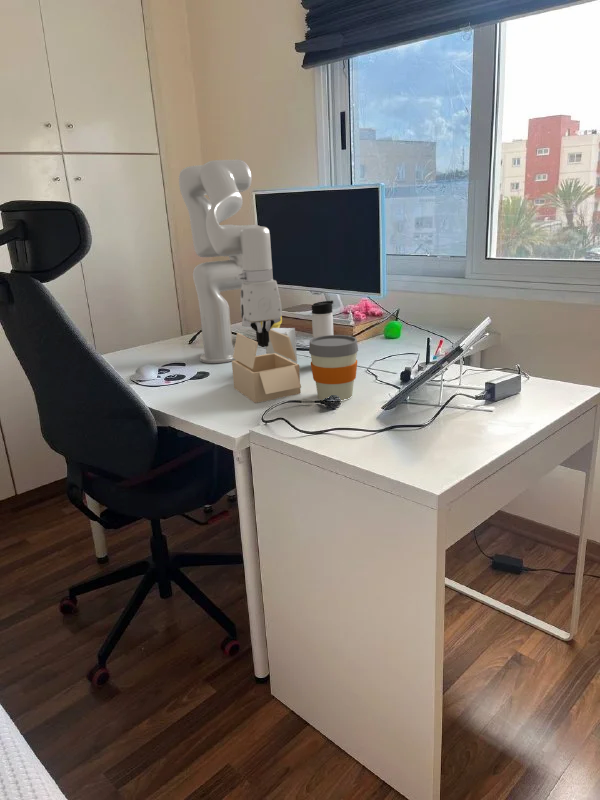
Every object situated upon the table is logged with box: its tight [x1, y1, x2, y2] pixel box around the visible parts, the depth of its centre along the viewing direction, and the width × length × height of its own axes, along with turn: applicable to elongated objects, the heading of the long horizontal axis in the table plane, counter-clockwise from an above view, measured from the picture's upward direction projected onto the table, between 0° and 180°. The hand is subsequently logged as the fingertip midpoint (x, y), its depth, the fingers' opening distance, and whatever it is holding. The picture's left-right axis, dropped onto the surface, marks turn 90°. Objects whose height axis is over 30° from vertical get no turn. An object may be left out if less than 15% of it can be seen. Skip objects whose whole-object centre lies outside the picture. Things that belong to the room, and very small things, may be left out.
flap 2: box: [269, 329, 298, 362], centre depth 164 cm, size 14×7×1 cm
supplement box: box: [265, 327, 298, 364], centre depth 181 cm, size 7×7×13 cm
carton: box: [231, 353, 302, 404], centre depth 164 cm, size 23×13×8 cm, turn 27°
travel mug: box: [311, 300, 334, 339], centre depth 183 cm, size 6×7×20 cm
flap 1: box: [233, 332, 259, 369], centre depth 159 cm, size 14×7×1 cm
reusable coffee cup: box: [308, 334, 359, 401], centre depth 156 cm, size 13×13×15 cm
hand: (263, 345), depth 161 cm, fingers closed
